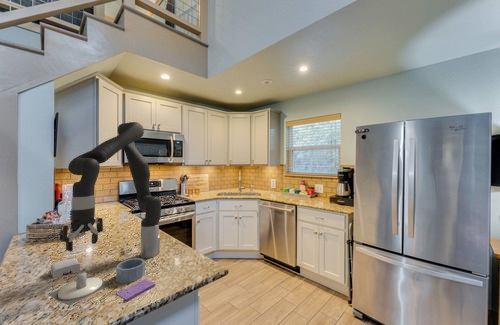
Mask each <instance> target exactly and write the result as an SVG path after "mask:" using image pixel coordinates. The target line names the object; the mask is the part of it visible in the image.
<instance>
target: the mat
mask: <svg viewBox="0 0 500 325" xmlns="http://www.w3.org/2000/svg"><path fill="white" fill-rule="evenodd" d="M87 278H96V277H95V276H92V275H90V276H87ZM102 281H103V283H102V286H101V287H100V288H99V289H98V290H97V291H95V292H93V293H91V294H89V295H87V296H84V297H81V298H77V299H72V300H62V299H59V298H58V292H59V291H60V289H62V288H63V287H61V288H59V289H57V290H54V291H53V292H50V293H48V294H47V295H48V296H50V297H51V298H54V299H55V300H59V301H60V302H62V303H64V304H66V305H68V306H71V305H73V304H75V303H78V302H79V301H82V300H83V299H85V298H87V297H89V296H91V295H93V294H95V293H97V292H99V291H101V290H103V289H104V288H107V287H109V286H111V285H112V282H111V283H110V282H108V281H105V280H103V279H102Z"/></svg>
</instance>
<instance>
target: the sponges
mask: <svg viewBox="0 0 500 325" xmlns="http://www.w3.org/2000/svg"><path fill="white" fill-rule="evenodd" d="M155 286H156V283H155V282H153V281H150V280H148V279H146V278H144V279H142V280H140V281H137V283H135V284H133V285H130V286H129V287H126V288H124V289H122V290H120V291H118V292H116V293H115V295H116V296H119V298H120V297H121V298H122V299H123V302H125V303H127V302H129V301H131V300H133V299H134V298H137V297H138V296H140V295H142V294H144V293H145V292H147V291H149V290H151V289H152V288H155Z"/></svg>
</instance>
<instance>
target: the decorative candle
mask: <svg viewBox="0 0 500 325" xmlns="http://www.w3.org/2000/svg"><path fill="white" fill-rule="evenodd" d="M69 215H70V216H69V220H70V223H71V210H70V211H69ZM71 230H72V229H71V228H69V232H70V231H71ZM86 233H87V232H83V233H78V235H77V236H75V238H74V239H73V240H79V239H78V238H80V239H83V238H85V237H86V236H85V235H86ZM84 236H85V237H84ZM82 237H83V238H82Z"/></svg>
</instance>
